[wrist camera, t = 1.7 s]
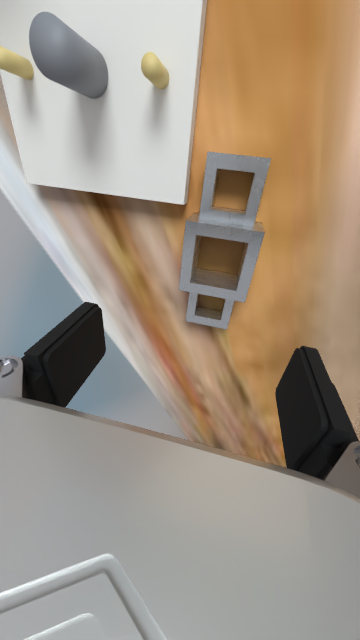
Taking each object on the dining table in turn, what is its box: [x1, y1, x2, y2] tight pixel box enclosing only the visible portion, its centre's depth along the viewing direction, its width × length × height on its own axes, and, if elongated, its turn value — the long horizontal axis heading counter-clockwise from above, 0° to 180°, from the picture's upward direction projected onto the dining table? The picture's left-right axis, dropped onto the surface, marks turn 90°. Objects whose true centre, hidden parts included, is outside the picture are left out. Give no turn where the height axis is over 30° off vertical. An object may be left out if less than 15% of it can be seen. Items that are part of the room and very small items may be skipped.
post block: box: [0, 0, 207, 205], centre depth 16 cm, size 16×16×6 cm
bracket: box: [179, 152, 271, 329], centre depth 22 cm, size 16×6×4 cm, turn 174°
